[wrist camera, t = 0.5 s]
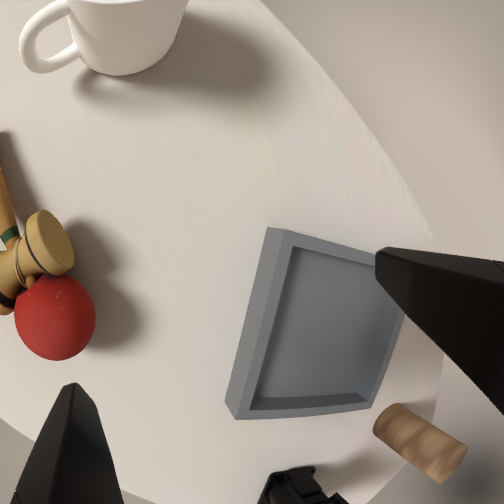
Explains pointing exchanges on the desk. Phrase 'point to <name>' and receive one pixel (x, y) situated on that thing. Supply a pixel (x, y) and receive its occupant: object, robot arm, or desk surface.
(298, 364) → the tray
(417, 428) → the wooden cylinder
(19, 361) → the desk surface
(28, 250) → the kendama
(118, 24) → the cup
